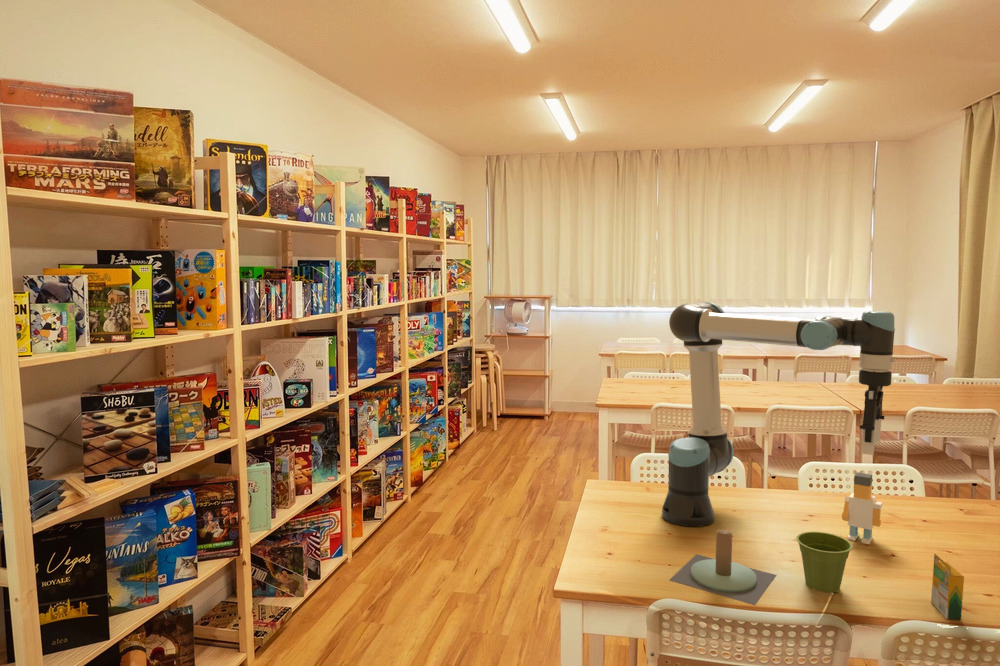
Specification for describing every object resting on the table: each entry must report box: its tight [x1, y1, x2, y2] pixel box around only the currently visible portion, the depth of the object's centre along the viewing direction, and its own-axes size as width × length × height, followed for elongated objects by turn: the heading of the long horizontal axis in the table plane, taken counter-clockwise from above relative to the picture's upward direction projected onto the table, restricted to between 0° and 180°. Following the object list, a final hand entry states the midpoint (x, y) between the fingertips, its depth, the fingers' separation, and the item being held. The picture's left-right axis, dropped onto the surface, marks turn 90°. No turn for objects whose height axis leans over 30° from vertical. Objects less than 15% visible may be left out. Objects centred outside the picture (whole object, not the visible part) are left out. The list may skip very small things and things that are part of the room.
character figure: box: [841, 471, 883, 545], centre depth 183 cm, size 8×10×18 cm
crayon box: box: [930, 553, 965, 621], centre depth 143 cm, size 7×3×12 cm, turn 170°
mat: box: [669, 553, 777, 606], centre depth 159 cm, size 20×18×1 cm
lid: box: [691, 529, 757, 592], centre depth 159 cm, size 15×15×11 cm
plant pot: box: [795, 531, 854, 594], centre depth 155 cm, size 12×12×11 cm
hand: (870, 448), depth 176 cm, fingers open, 13 cm apart
